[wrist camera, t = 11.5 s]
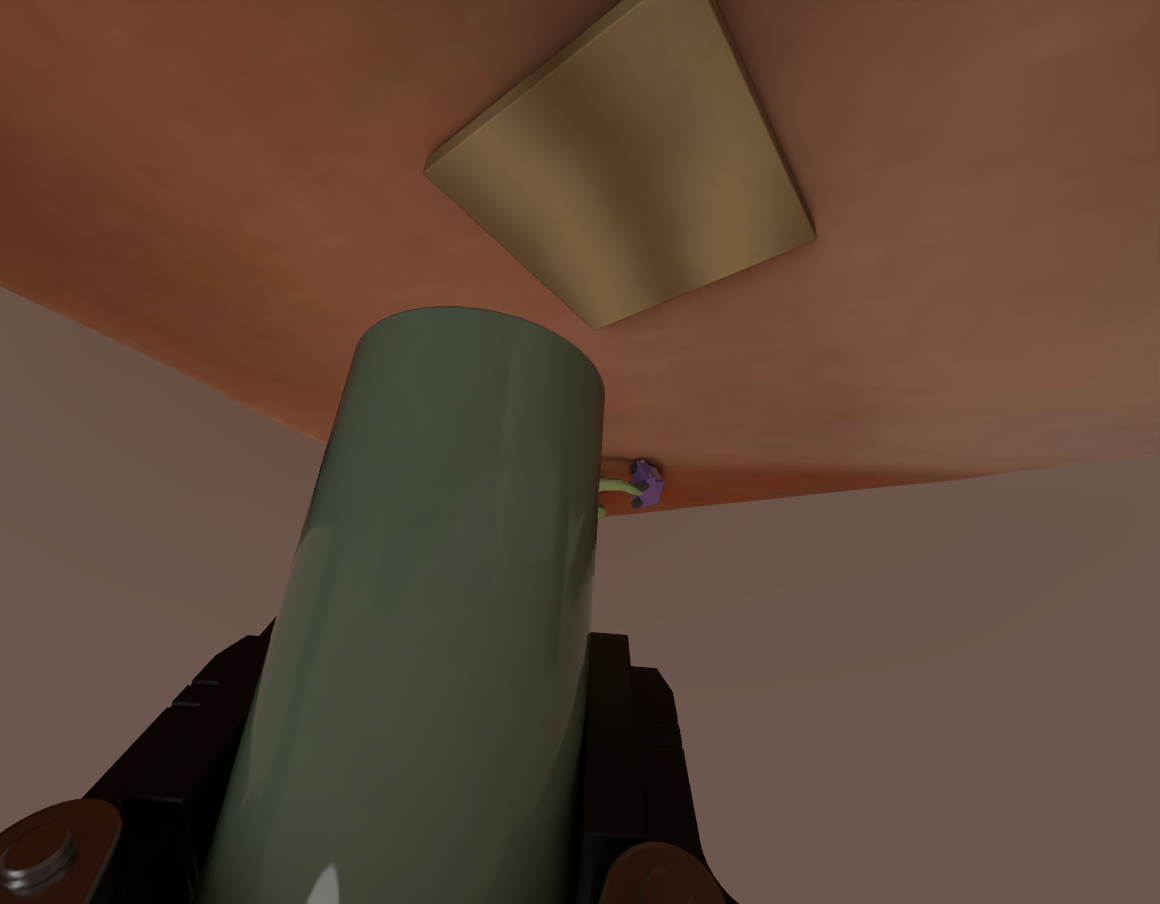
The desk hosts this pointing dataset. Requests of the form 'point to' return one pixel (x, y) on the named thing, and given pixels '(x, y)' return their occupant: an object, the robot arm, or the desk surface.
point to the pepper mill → (429, 634)
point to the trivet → (630, 164)
